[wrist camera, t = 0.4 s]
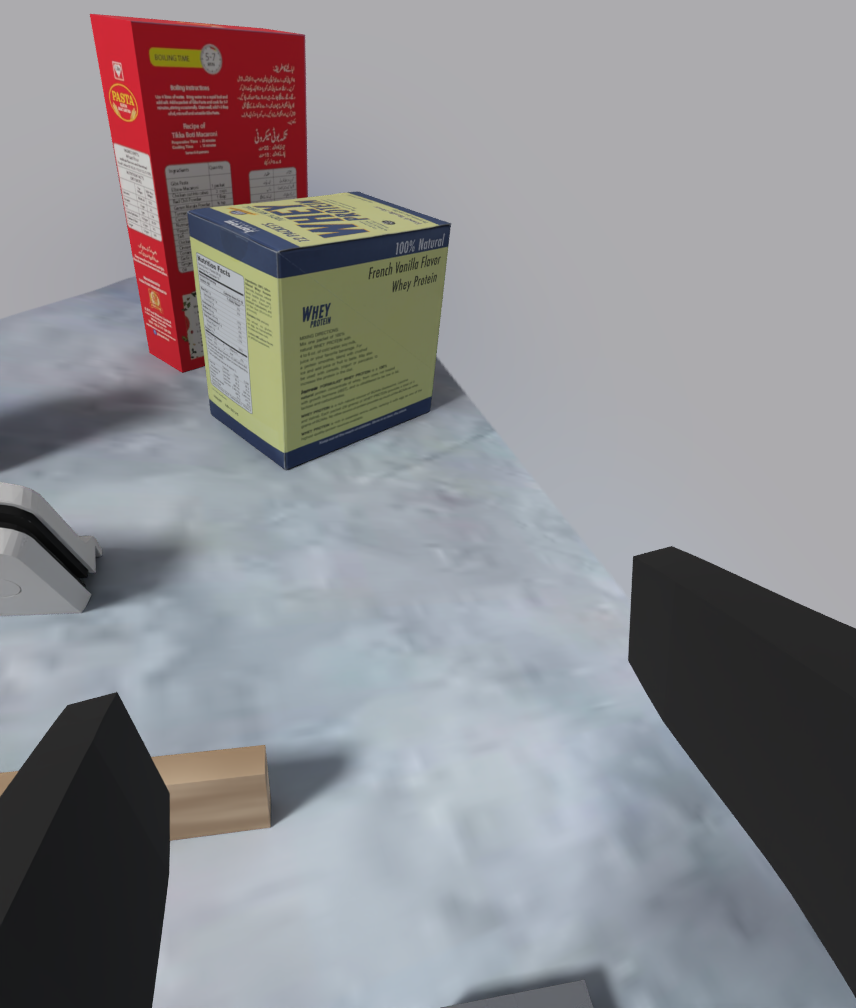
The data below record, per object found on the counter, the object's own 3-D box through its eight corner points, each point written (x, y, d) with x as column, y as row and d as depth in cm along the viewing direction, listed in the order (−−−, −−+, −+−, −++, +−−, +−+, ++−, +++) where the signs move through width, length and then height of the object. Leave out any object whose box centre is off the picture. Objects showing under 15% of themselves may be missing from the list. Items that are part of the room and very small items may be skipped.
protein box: (433, 410, 56) (455, 220, 46) (285, 474, 46) (274, 250, 37) (354, 367, 61) (359, 189, 52) (206, 415, 51) (180, 207, 42)
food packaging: (277, 317, 69) (263, 28, 54) (310, 333, 66) (305, 34, 51) (149, 352, 59) (89, 13, 44) (182, 372, 57) (130, 20, 42)
